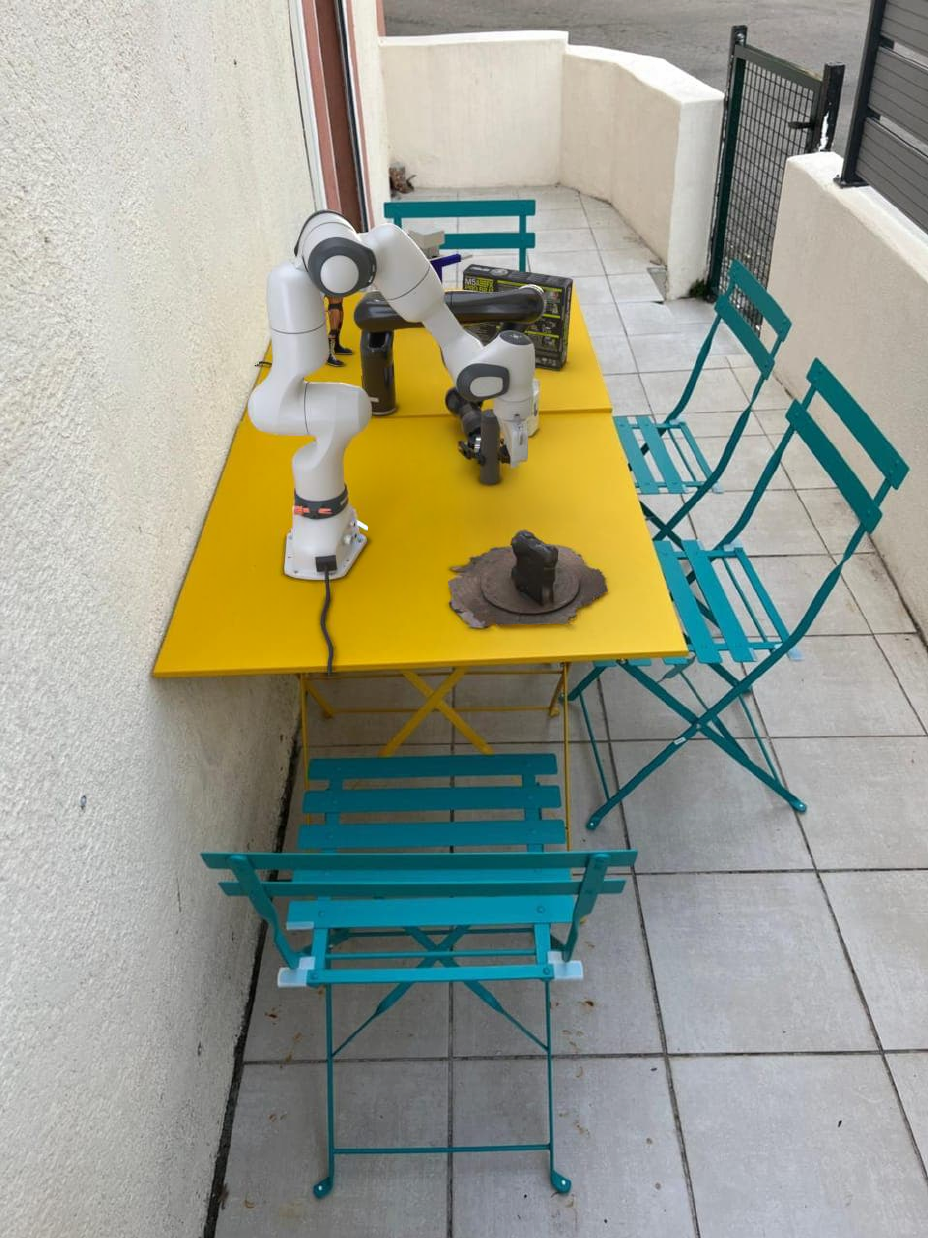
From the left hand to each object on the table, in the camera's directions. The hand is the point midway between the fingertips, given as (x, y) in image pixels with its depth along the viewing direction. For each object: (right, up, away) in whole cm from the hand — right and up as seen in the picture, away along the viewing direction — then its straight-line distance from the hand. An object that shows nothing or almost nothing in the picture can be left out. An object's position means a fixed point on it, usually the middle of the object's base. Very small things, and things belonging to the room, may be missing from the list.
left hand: (511, 457), depth 205 cm
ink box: (+5, +15, +42) cm, 45 cm away
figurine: (-51, +46, +79) cm, 105 cm away
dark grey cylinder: (-4, -2, +22) cm, 22 cm away
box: (+5, +46, +78) cm, 91 cm away
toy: (-23, +66, +102) cm, 124 cm away
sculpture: (+3, -31, -12) cm, 33 cm away
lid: (0, +1, -1) cm, 2 cm away
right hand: (-4, +2, +16) cm, 16 cm away
